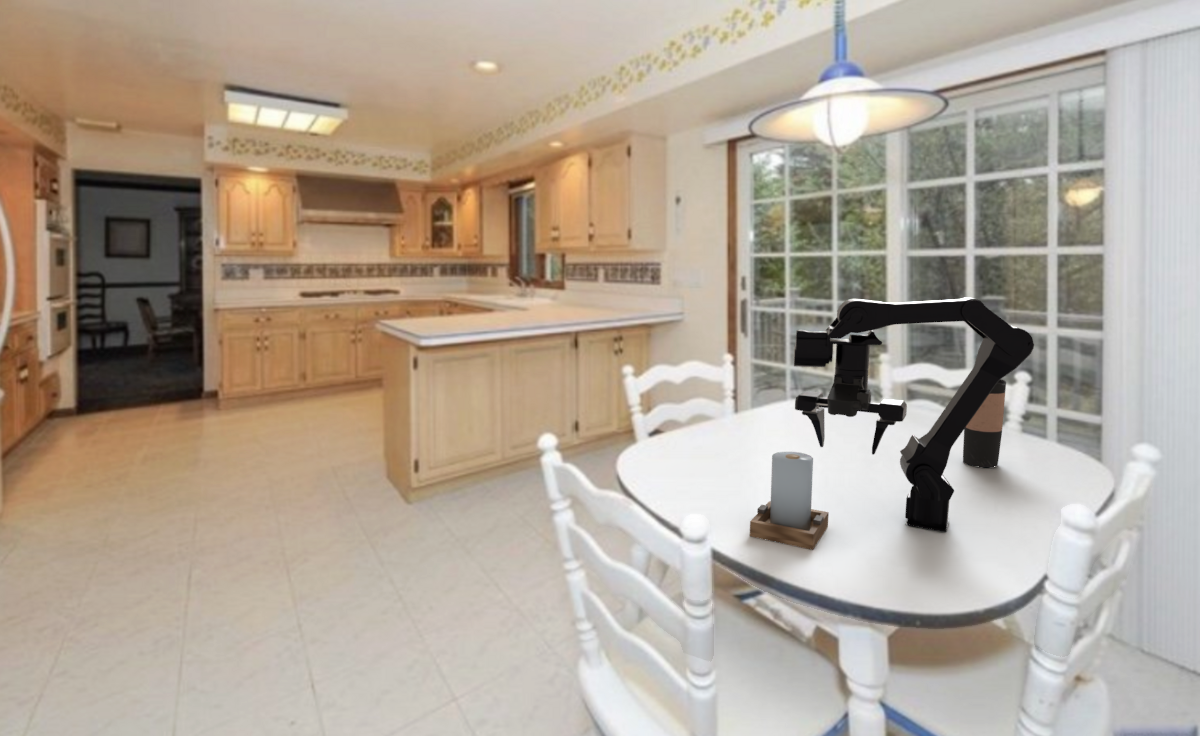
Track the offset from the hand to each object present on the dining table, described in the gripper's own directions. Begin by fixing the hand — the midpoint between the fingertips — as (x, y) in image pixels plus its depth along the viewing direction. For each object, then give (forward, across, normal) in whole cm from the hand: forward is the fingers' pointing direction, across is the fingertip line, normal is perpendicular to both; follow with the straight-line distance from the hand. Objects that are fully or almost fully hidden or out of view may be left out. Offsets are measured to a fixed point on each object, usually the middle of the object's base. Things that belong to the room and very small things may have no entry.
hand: (847, 450), depth 121 cm
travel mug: (+13, +21, +48) cm, 54 cm away
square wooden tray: (+13, -7, -12) cm, 19 cm away
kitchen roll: (+12, -7, -12) cm, 18 cm away
